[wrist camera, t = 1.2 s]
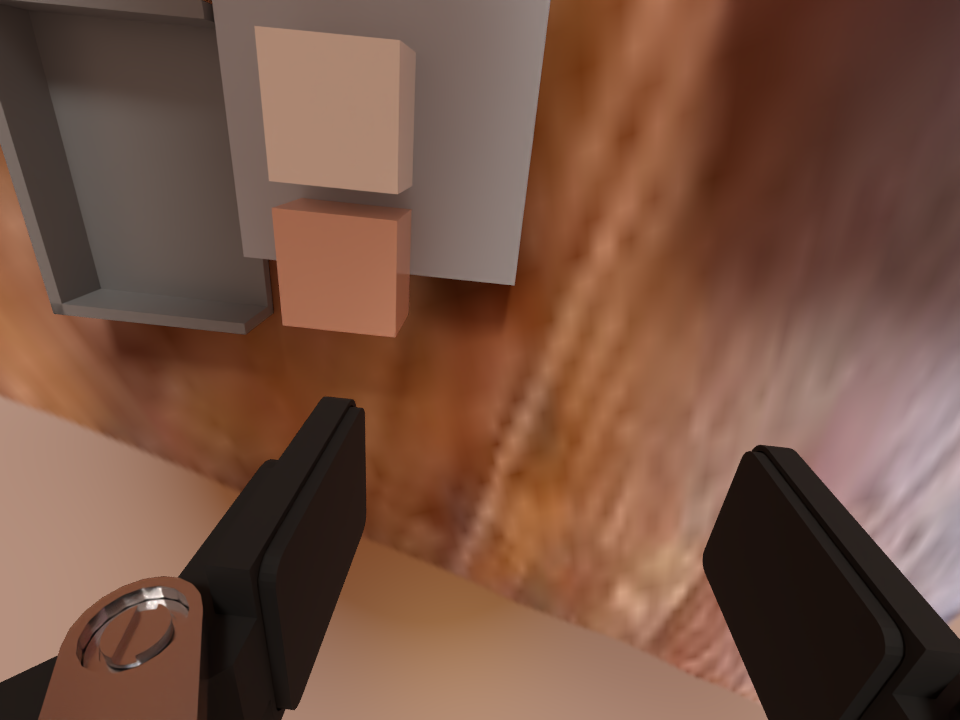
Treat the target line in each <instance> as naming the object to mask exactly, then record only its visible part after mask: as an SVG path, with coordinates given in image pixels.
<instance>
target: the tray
mask: <svg viewBox="0 0 960 720" xmlns="http://www.w3.org/2000/svg"><path fill="white" fill-rule="evenodd" d="M0 144H1V147H2V150H3V153H4V157H5V160H6V163H7V166H8V169H9V173H10V176H11V179H12V182H13V185H14V189H15V192H16V195H17V198H18V201H19V204H20V208H21V211H22V214H23V217H24V220H25V224H26V227H27V230H28V233H29V236H30V240H31V243H32V246H33V249H34V252H35V256H36V259H37V262H38V265H39V268H40V271H41V275H42V278H43V281H44V284H45V287H46V291H47V294H48V297H49V300H50V303H51V307H52V310H53V313H54V314H61V315H70V316H79V317H88V318H98V319H107V320H116V321H125V322H135V323H144V324H153V325H162V326H171V327H181V328H190V329H199V330H208V331H217V332H227V333H236V334H245V335H246V334H247V333H248V332H250V331H251V330H252V329H254V328H255V327H256V326H257V325H259V324H260V323H261V322H263V321H264V320H265V319H266V318H268V317H269V316H270V315H272V314H273V313H274V312H273V302H272V292H271V283H270V273H269V263H268V259H260V258H250V257H244V254H243V246H242V238H241V230H240V222H239V214H238V206H237V197H236V189H235V181H234V173H233V165H232V157H231V149H230V141H229V133H228V125H227V117H226V109H225V101H224V93H223V85H222V76H221V68H220V60H219V52H218V44H217V36H216V28H215V20H214V12H213V5H212V4H210V3H207V2H205V1H203V0H0Z"/></svg>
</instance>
